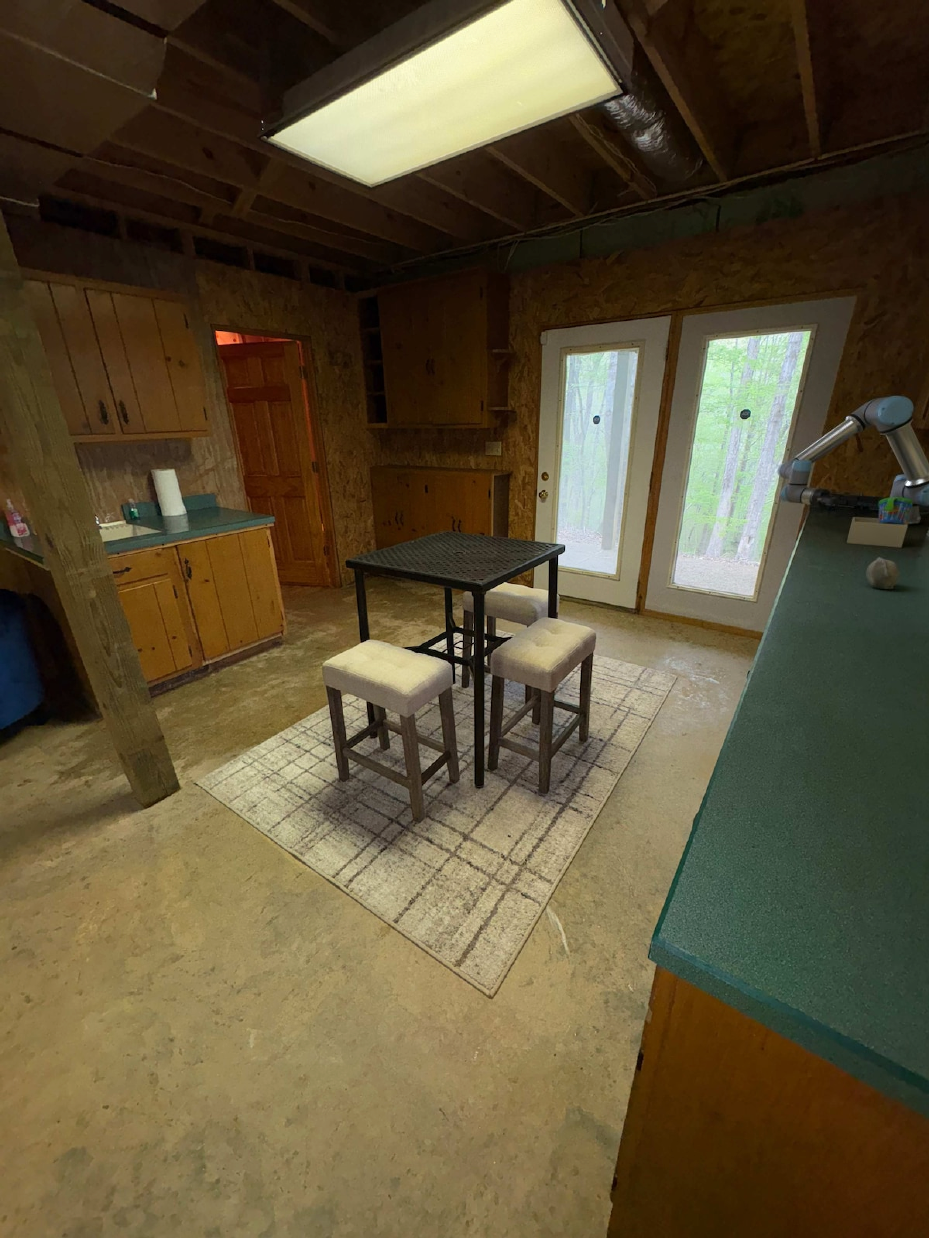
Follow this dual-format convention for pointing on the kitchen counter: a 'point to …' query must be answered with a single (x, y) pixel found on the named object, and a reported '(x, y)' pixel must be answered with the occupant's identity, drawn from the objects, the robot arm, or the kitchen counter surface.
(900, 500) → the snack cup
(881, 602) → the kitchen counter surface
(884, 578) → the garlic bulb
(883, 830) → the kitchen counter surface
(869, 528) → the tan rectangular box
